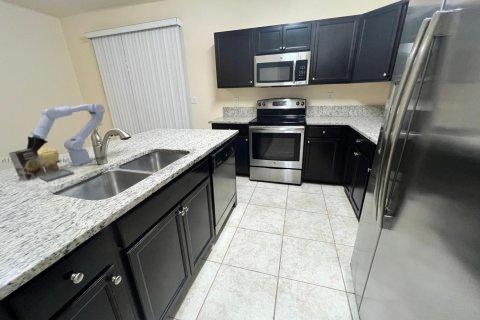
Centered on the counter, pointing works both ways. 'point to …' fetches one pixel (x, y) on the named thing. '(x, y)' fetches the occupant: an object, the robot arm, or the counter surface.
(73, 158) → the robot arm
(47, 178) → the slate gray tray
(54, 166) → the letter cube
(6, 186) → the counter surface
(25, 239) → the counter surface
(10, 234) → the counter surface
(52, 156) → the tan lumpy round piece
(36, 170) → the coffee box
